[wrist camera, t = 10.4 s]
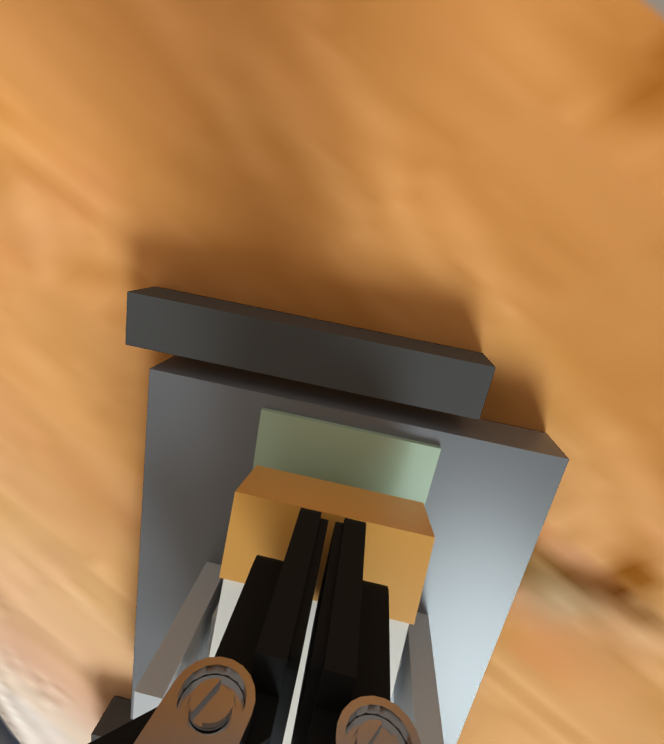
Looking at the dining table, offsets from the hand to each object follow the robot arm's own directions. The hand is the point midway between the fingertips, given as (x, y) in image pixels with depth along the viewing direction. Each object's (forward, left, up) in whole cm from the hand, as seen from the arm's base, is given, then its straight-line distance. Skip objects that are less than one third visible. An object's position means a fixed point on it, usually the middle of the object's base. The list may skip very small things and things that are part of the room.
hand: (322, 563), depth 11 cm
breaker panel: (0, +6, -6) cm, 9 cm away
